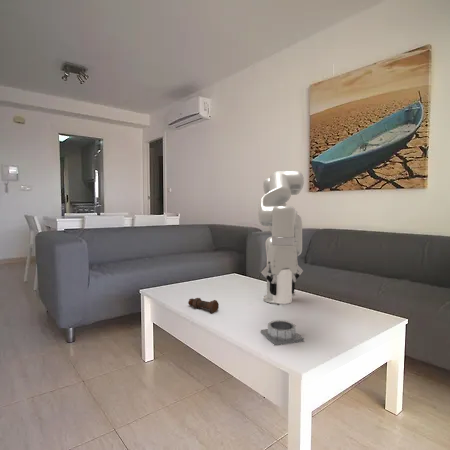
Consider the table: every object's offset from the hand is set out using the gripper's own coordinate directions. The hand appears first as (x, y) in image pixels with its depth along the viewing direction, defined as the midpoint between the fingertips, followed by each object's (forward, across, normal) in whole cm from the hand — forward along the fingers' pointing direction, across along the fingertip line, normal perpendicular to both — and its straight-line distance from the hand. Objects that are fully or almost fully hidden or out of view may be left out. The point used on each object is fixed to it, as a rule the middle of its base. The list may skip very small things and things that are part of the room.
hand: (282, 293), depth 105 cm
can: (+3, 0, 0) cm, 3 cm away
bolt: (+16, +19, -38) cm, 45 cm away
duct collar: (+16, 0, 0) cm, 16 cm away
